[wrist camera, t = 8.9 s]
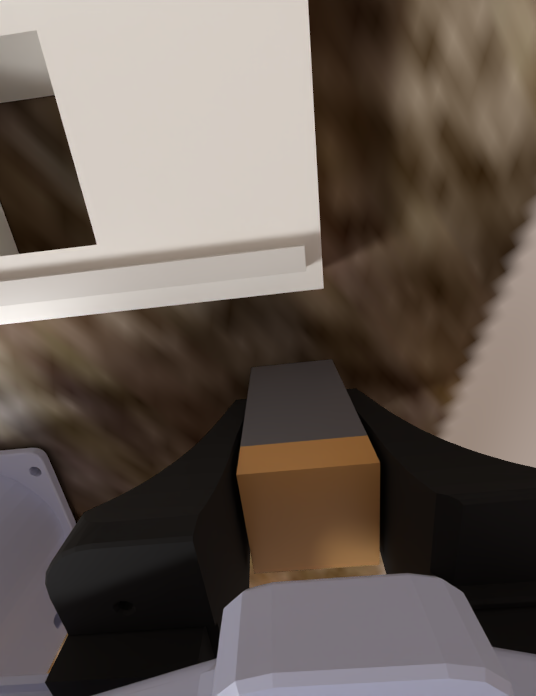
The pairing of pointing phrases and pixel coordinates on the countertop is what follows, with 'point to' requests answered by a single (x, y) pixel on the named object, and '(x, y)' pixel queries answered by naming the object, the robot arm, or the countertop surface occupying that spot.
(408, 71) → the countertop surface
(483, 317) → the countertop surface
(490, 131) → the countertop surface
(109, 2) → the socket board
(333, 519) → the orange and grey block
